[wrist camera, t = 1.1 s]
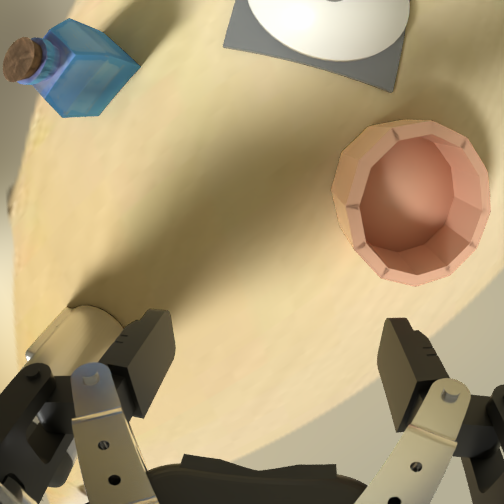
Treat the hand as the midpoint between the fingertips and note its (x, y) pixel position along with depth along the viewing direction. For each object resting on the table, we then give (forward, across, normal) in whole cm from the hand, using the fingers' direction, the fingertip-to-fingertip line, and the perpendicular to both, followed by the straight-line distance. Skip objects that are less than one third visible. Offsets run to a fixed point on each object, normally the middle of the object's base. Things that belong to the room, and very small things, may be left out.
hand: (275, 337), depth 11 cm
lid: (+18, -4, -21) cm, 27 cm away
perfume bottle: (+17, +17, -15) cm, 28 cm away
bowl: (+19, -11, -3) cm, 22 cm away
